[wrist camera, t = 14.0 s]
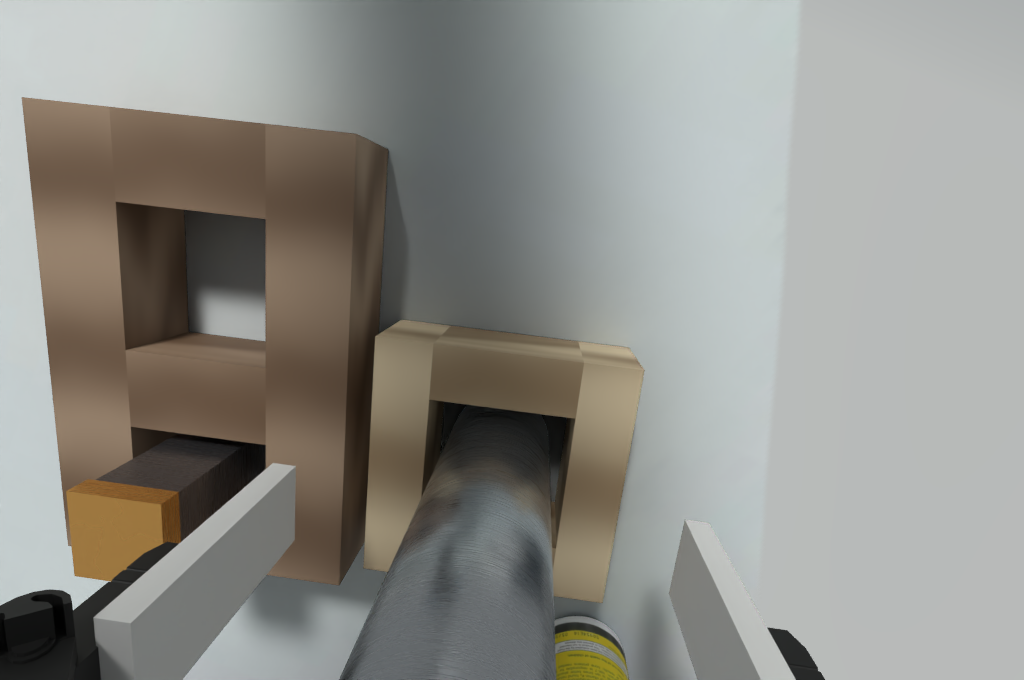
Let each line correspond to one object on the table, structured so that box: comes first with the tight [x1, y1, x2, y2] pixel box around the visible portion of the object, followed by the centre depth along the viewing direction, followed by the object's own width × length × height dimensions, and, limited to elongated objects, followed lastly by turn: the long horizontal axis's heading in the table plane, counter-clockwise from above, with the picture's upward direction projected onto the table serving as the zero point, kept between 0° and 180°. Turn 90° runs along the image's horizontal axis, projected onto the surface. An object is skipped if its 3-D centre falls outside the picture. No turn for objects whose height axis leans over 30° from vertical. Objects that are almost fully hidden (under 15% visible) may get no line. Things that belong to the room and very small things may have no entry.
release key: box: [66, 433, 266, 581], centre depth 20 cm, size 3×3×7 cm
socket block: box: [22, 97, 388, 585], centre depth 21 cm, size 18×12×4 cm, turn 174°
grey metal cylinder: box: [339, 405, 556, 680], centre depth 15 cm, size 4×4×16 cm
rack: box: [363, 320, 644, 603], centre depth 21 cm, size 10×10×4 cm
